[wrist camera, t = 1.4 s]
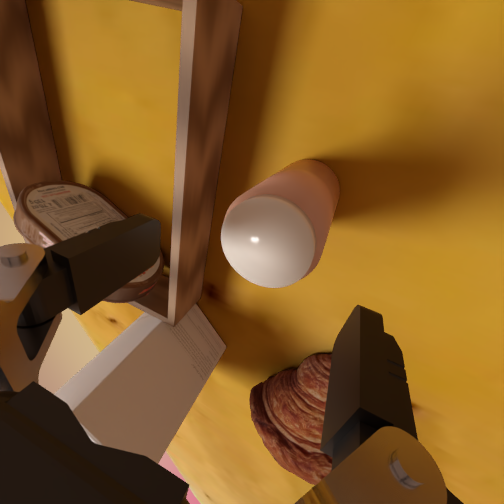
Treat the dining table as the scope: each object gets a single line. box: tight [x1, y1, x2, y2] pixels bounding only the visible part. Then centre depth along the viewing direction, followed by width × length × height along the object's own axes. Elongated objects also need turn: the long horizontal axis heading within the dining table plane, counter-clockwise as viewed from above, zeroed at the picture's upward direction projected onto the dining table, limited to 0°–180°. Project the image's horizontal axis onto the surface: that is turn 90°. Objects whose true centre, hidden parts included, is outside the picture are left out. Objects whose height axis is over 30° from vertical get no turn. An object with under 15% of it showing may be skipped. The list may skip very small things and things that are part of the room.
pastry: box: [250, 353, 332, 485], centre depth 27 cm, size 17×15×8 cm
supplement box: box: [54, 304, 226, 464], centre depth 27 cm, size 9×9×15 cm
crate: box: [0, 0, 243, 327], centre depth 22 cm, size 26×21×5 cm
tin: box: [13, 181, 164, 303], centre depth 25 cm, size 15×3×8 cm, turn 53°
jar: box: [221, 159, 340, 288], centre depth 15 cm, size 5×5×10 cm
